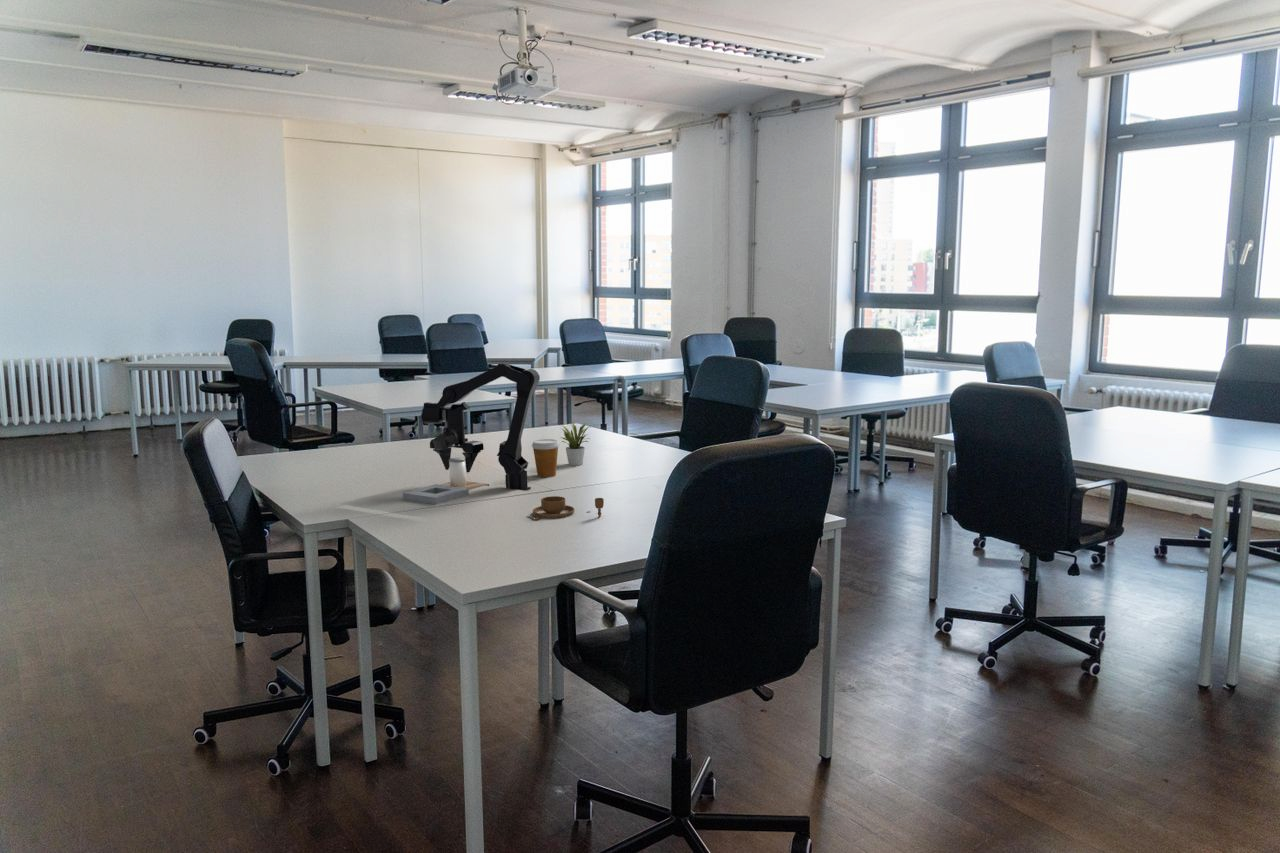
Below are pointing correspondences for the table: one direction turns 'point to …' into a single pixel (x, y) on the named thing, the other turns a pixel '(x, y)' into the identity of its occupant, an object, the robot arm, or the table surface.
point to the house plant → (575, 444)
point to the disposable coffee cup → (546, 456)
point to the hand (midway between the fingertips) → (457, 471)
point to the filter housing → (435, 494)
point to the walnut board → (470, 485)
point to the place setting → (559, 507)
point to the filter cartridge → (457, 472)
